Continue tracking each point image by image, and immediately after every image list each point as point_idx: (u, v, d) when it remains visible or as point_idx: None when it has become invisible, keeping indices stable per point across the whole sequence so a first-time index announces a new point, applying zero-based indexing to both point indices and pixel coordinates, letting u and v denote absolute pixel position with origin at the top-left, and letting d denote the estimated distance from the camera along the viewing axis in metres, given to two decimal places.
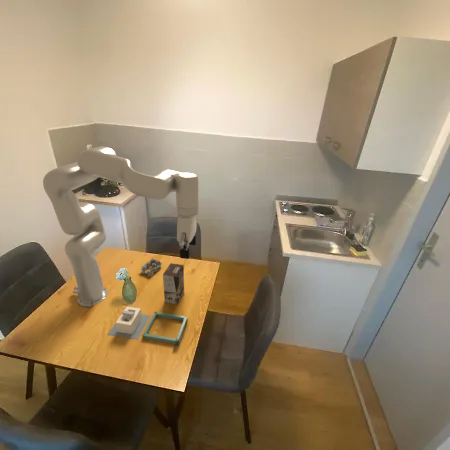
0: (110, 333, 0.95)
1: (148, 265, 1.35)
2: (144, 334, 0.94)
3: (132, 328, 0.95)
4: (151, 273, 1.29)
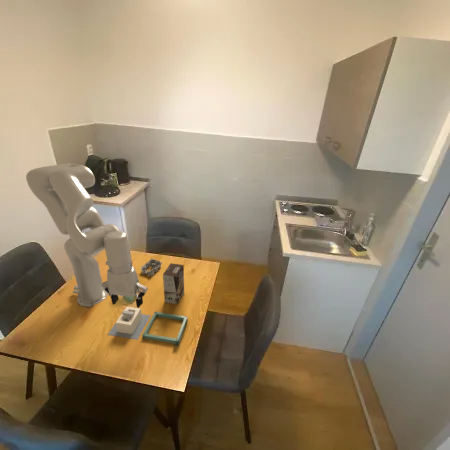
0: (110, 333, 0.95)
1: (148, 265, 1.35)
2: (144, 334, 0.94)
3: (132, 328, 0.95)
4: (152, 273, 1.29)
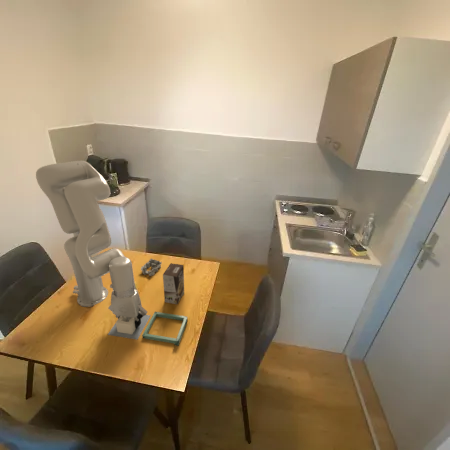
0: (110, 333, 0.95)
1: (148, 265, 1.34)
2: (144, 334, 0.94)
3: (132, 328, 0.95)
4: (152, 273, 1.29)
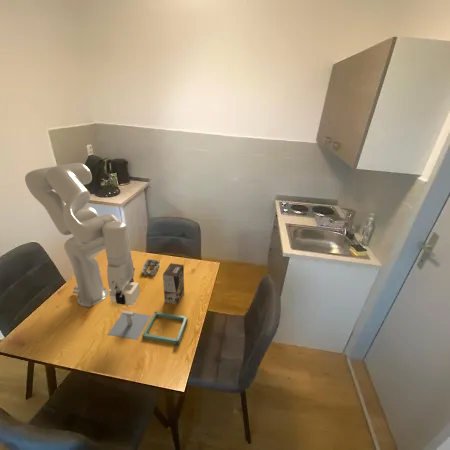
0: (110, 333, 0.95)
1: (146, 266, 1.34)
2: (144, 334, 0.94)
3: (111, 296, 0.90)
4: (154, 272, 1.30)
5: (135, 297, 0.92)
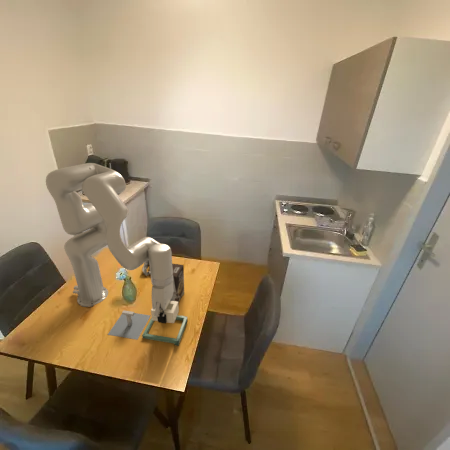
0: (110, 333, 0.95)
1: (146, 266, 1.33)
2: (144, 334, 0.94)
3: (153, 315, 0.92)
4: None
5: (175, 315, 0.94)
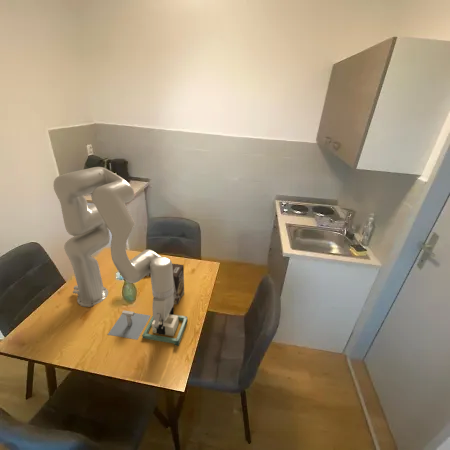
0: (110, 333, 0.95)
1: None
2: (144, 334, 0.94)
3: (154, 329, 0.96)
4: None
5: (175, 329, 0.97)
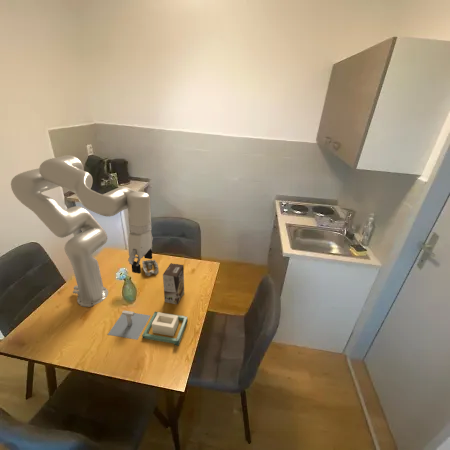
0: (110, 333, 0.95)
1: None
2: (144, 334, 0.94)
3: (154, 329, 0.96)
4: (157, 270, 1.31)
5: (175, 329, 0.97)
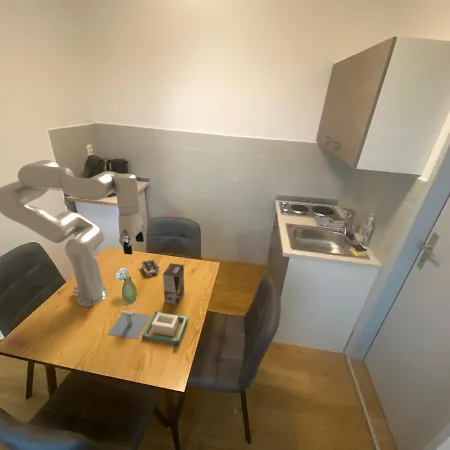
0: (110, 333, 0.95)
1: None
2: (144, 334, 0.94)
3: (154, 329, 0.96)
4: (158, 270, 1.31)
5: (175, 329, 0.97)
